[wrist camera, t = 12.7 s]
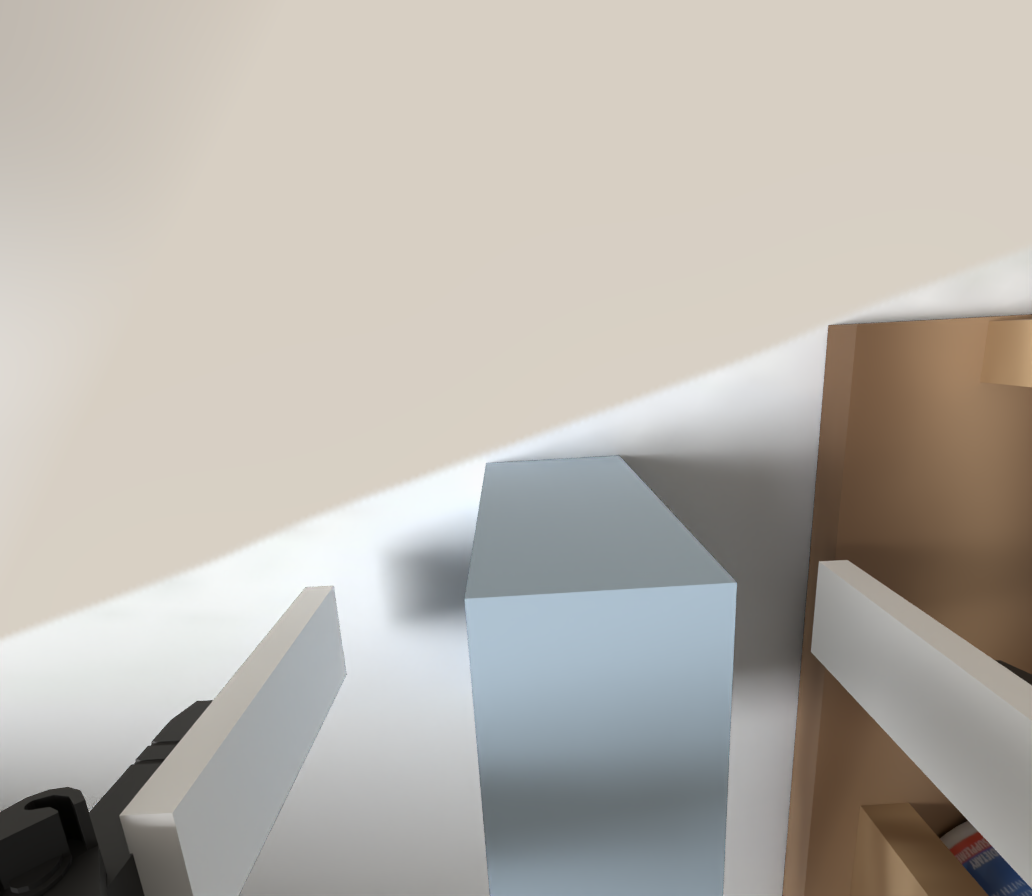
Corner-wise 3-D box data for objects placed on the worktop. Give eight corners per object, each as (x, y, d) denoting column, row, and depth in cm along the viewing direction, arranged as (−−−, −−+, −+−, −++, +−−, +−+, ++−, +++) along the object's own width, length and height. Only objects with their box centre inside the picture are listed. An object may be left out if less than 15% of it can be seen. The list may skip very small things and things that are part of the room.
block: (502, 693, 17) (498, 999, 9) (486, 462, 15) (464, 599, 7) (621, 686, 17) (718, 985, 9) (618, 455, 15) (737, 582, 7)
